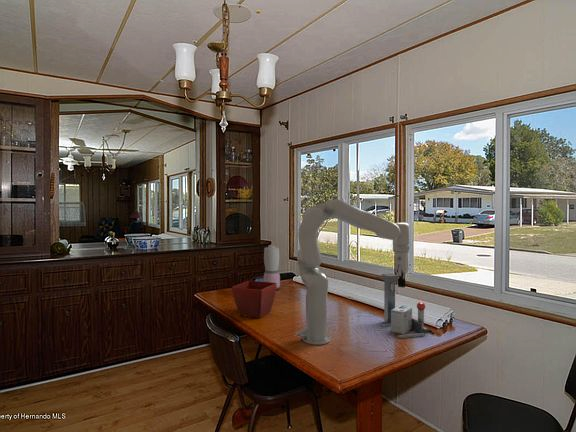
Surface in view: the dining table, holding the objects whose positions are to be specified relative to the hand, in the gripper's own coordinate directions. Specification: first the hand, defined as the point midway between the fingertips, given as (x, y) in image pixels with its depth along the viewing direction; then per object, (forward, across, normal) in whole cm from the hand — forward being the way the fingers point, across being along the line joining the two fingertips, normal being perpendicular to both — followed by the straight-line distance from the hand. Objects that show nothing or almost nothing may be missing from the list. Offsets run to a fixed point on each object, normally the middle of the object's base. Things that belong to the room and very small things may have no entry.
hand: (401, 286), depth 167 cm
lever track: (+23, +11, -6) cm, 26 cm away
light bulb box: (+23, +4, +1) cm, 23 cm away
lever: (+23, +9, -7) cm, 25 cm away
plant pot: (+21, -6, +80) cm, 82 cm away
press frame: (+22, +6, +3) cm, 23 cm away
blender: (+21, +54, +101) cm, 117 cm away
